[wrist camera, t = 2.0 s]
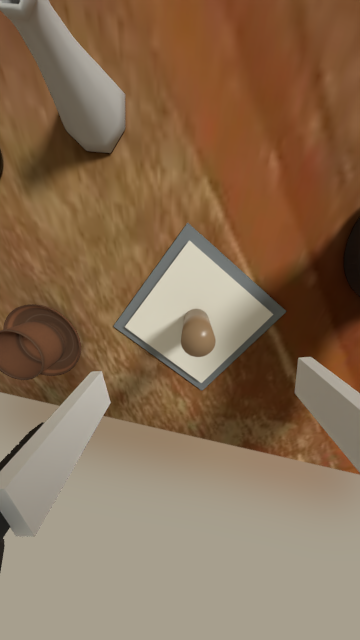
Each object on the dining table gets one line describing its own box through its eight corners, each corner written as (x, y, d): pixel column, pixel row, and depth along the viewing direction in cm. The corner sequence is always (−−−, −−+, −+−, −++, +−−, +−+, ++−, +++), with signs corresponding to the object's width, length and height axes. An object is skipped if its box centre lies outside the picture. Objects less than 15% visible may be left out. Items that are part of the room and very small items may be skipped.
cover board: (270, 312, 24) (306, 333, 17) (201, 380, 28) (204, 420, 21) (189, 241, 22) (188, 228, 15) (126, 325, 26) (101, 348, 19)
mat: (285, 310, 24) (286, 311, 24) (201, 389, 29) (202, 390, 29) (187, 223, 22) (187, 222, 22) (114, 325, 27) (113, 326, 26)
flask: (116, 166, 21) (52, 82, 11) (58, 138, 20) (-61, 23, 11) (136, 90, 18) (78, -97, 9) (71, 55, 18) (-64, -182, 8)
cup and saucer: (62, 380, 31) (32, 408, 25) (3, 337, 29) (-45, 355, 23) (100, 338, 28) (77, 357, 22) (37, 285, 26) (-8, 291, 20)
